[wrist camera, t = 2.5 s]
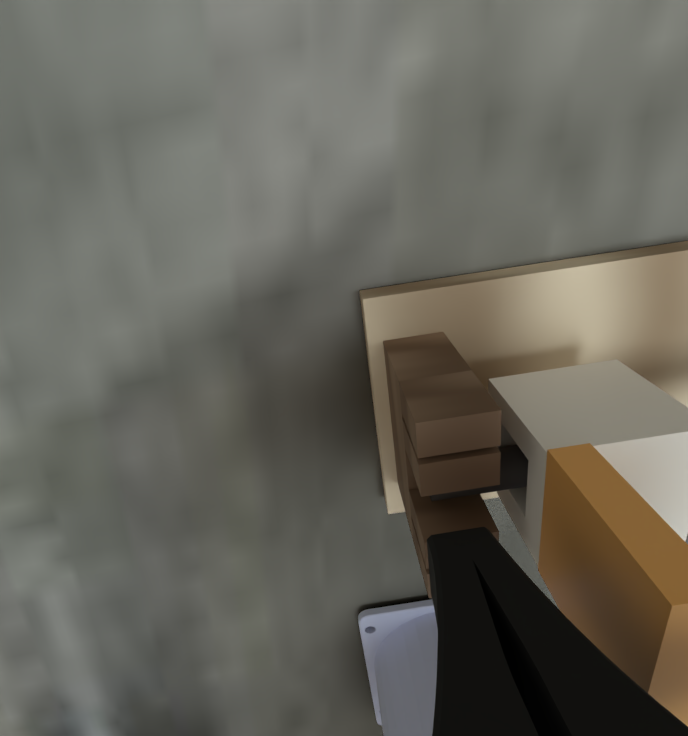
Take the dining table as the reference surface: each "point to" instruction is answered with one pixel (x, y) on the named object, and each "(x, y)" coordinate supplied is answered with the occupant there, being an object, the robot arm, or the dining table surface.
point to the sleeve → (607, 511)
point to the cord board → (504, 367)
